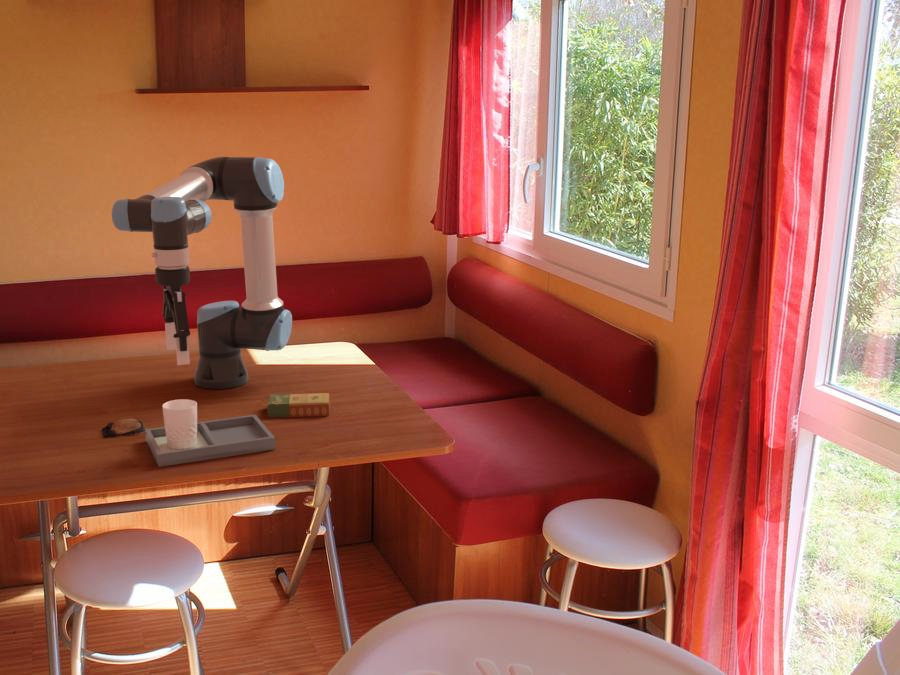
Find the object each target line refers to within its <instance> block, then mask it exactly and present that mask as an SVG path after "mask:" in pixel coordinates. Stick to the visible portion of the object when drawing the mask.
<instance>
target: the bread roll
mask: <svg viewBox="0 0 900 675" xmlns="http://www.w3.org/2000/svg"><path fill="white" fill-rule="evenodd" d="M145 429H148V428H147V427H146V425H145V423H143V422H142V421H140V420H138V419H135V418H122V419H118V420H116V421H114V422H109V423H107V425H106V426H105V427H102V428H101V434H102V437H103V438H107V439H115V438H122V437H129V436H137V435H141V434H145Z"/></svg>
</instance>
